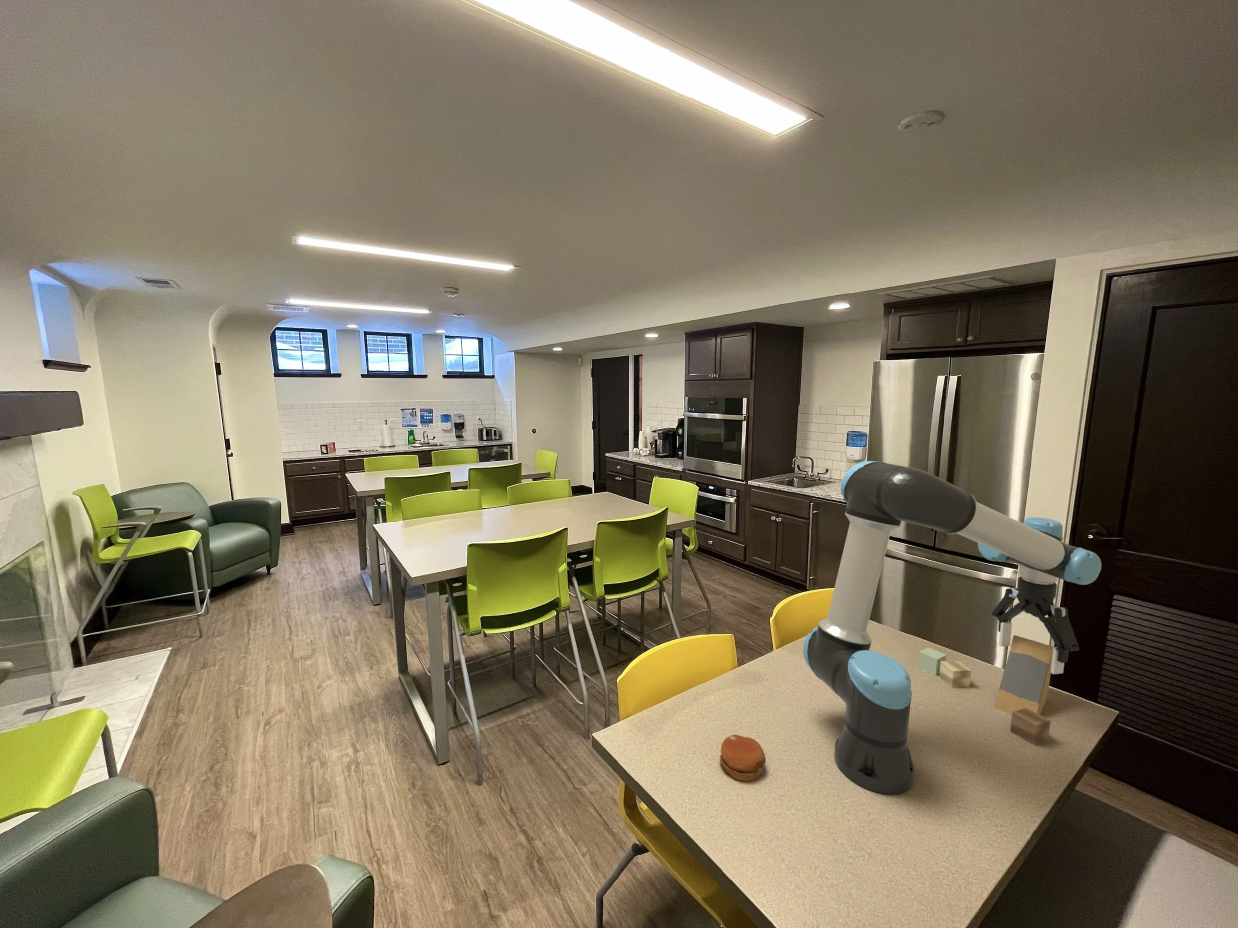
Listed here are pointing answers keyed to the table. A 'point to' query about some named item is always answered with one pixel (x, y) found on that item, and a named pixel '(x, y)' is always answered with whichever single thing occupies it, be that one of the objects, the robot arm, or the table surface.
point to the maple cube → (955, 674)
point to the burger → (742, 757)
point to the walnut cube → (1030, 726)
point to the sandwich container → (1025, 676)
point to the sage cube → (930, 660)
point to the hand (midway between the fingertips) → (1029, 658)
